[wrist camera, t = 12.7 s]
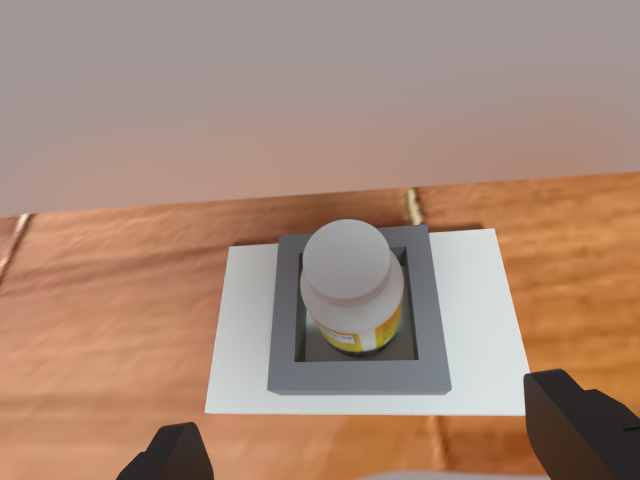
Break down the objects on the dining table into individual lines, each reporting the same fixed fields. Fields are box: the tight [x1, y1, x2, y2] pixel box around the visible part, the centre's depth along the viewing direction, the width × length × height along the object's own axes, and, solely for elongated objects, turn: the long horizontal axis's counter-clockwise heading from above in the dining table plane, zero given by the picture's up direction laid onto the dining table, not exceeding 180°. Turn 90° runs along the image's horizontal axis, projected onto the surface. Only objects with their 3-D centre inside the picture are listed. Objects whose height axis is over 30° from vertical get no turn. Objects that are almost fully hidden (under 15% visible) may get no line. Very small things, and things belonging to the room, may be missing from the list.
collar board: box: [205, 224, 530, 416], centre depth 24 cm, size 20×12×4 cm, turn 89°
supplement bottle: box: [300, 219, 404, 358], centre depth 20 cm, size 5×5×10 cm
